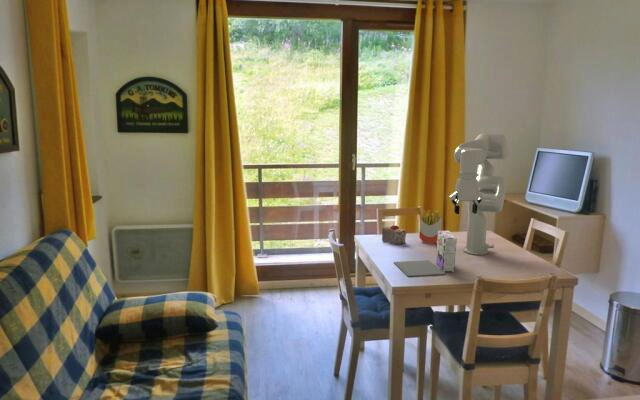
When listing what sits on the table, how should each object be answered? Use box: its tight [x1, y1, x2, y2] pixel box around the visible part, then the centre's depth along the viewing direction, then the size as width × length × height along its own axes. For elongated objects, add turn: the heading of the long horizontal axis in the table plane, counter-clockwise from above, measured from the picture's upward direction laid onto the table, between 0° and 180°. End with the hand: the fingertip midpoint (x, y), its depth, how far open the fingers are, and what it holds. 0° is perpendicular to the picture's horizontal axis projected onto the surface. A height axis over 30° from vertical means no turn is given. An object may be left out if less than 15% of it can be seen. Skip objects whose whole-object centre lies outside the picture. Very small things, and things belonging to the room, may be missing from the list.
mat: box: [393, 259, 447, 278], centre depth 226 cm, size 18×20×1 cm
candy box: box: [435, 230, 457, 273], centre depth 227 cm, size 14×6×16 cm, turn 179°
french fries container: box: [418, 209, 442, 245], centre depth 270 cm, size 5×11×18 cm, turn 55°
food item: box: [381, 225, 407, 246], centre depth 270 cm, size 14×8×10 cm, turn 46°
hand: (465, 213), depth 225 cm, fingers open, 8 cm apart
